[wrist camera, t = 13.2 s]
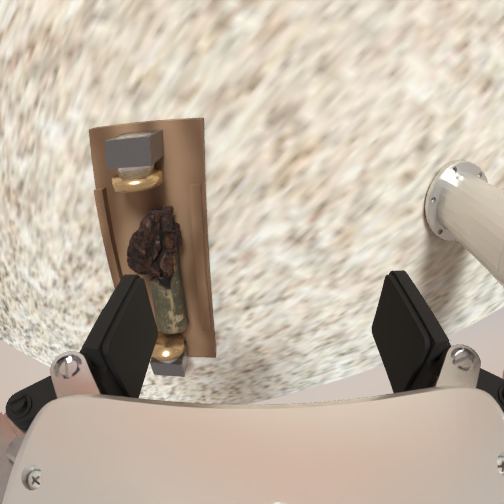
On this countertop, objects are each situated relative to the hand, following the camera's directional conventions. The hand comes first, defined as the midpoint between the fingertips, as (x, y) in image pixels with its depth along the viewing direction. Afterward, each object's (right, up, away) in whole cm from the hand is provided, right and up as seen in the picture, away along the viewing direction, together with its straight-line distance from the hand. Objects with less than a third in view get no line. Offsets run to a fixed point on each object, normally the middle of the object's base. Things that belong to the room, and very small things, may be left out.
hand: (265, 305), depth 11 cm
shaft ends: (-13, +1, +29) cm, 32 cm away
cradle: (-13, +1, +30) cm, 33 cm away
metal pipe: (-12, +1, +29) cm, 31 cm away
